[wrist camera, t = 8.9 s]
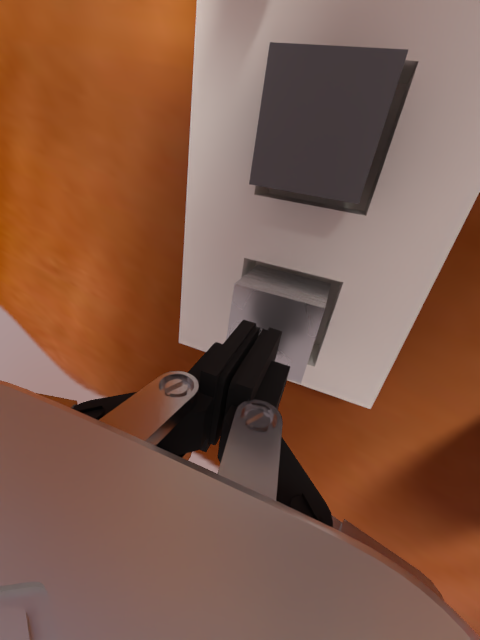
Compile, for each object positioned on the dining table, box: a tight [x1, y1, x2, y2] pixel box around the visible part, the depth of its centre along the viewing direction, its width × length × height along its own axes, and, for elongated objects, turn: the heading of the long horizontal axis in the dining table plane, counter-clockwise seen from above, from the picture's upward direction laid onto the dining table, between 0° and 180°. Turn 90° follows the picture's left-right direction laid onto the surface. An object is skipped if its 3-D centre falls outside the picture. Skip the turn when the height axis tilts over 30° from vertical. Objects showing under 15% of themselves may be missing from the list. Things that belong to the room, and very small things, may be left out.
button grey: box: [226, 265, 331, 384], centre depth 14 cm, size 4×4×4 cm
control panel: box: [179, 0, 480, 409], centre depth 13 cm, size 24×12×3 cm, turn 171°
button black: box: [249, 42, 408, 204], centre depth 11 cm, size 4×4×4 cm
